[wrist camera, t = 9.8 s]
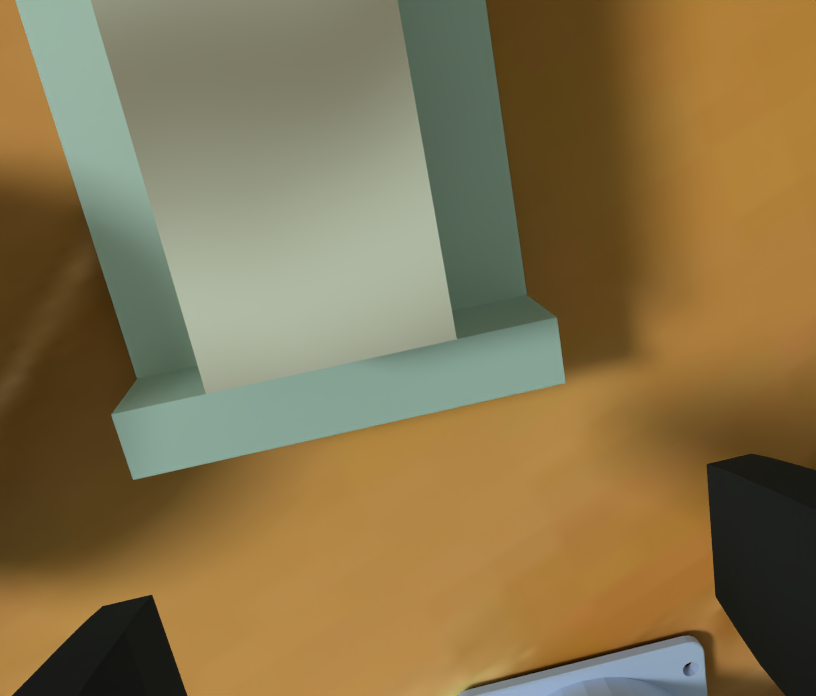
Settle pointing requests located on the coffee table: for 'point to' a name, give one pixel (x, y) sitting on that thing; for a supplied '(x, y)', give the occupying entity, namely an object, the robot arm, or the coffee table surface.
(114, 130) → the peg frame
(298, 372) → the shelf block
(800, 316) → the coffee table surface
